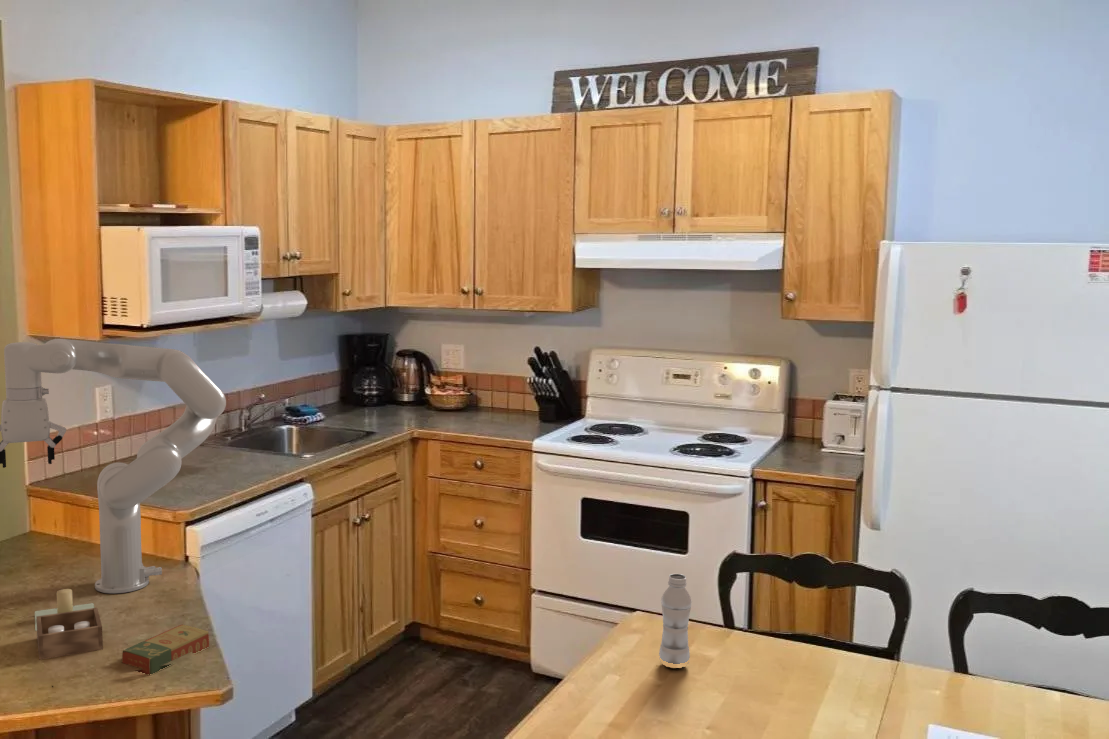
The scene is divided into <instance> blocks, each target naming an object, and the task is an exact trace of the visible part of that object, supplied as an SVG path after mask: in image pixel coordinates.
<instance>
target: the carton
mask: <svg viewBox="0 0 1109 739" xmlns="http://www.w3.org/2000/svg"><path fill="white" fill-rule="evenodd" d="M207 647H209V648H210V634H209V631H208V630H205V629H202V628H199V627H194V626H190V625H186V624H180V625H177V626H175V627H172V628H170V629H168V630H165V631H164V632H161V633H159V634H156V635H154V636H153V637H150V638H148V639H146V640H143V641H141V642H138V643H136V644H133V645H132V646H129V647H128V648H125V649H123V650H122V653H121V655H122V656H121V663H122V664H125V665H129V666H130V667H131V666H132V667H135V668H139V669H137V670H134V672H136V671H138V672H137V673H140V672H142V673H141V674H143V673H145V674H144V675H147V674H149V675H148V676H151V675H150V674H153V673H155V672H157V671H159V670H160V669H163V668H165V667H167V666H169V665H171V664H172V663H170V662H172V661H175V660H177V659H179V658H180V657H182V656H185V655H187V654H189V653H192V654H193V653H196V652H198V651H201V650H202V649H205V648H207ZM207 649H208V648H207ZM205 650H206V649H205ZM201 652H202V651H201ZM168 663H169V664H168ZM171 666H172V665H171ZM169 667H170V666H169ZM167 668H168V667H167ZM165 669H166V668H165ZM163 670H164V669H163ZM159 672H160V671H159ZM157 673H158V672H157ZM155 674H156V673H155ZM153 675H154V674H153Z"/></svg>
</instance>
